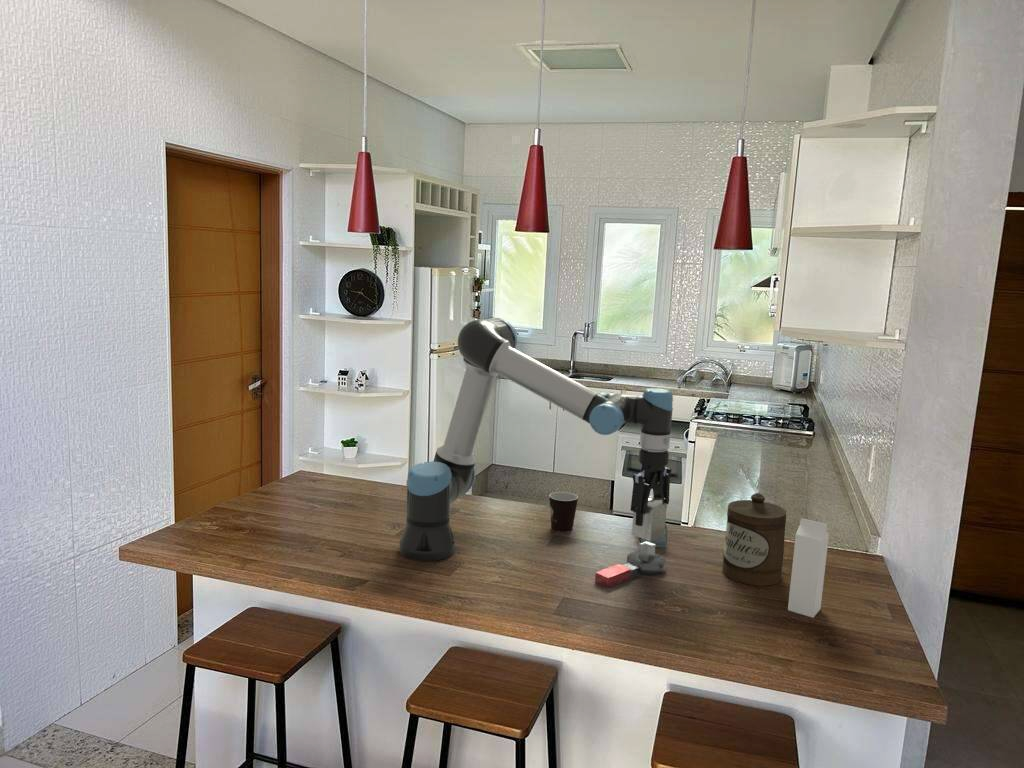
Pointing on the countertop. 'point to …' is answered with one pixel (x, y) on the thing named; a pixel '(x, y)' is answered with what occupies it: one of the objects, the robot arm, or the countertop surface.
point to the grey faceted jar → (653, 518)
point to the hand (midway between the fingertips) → (648, 533)
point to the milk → (808, 568)
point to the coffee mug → (562, 510)
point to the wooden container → (754, 541)
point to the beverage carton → (657, 540)
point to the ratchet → (633, 566)
